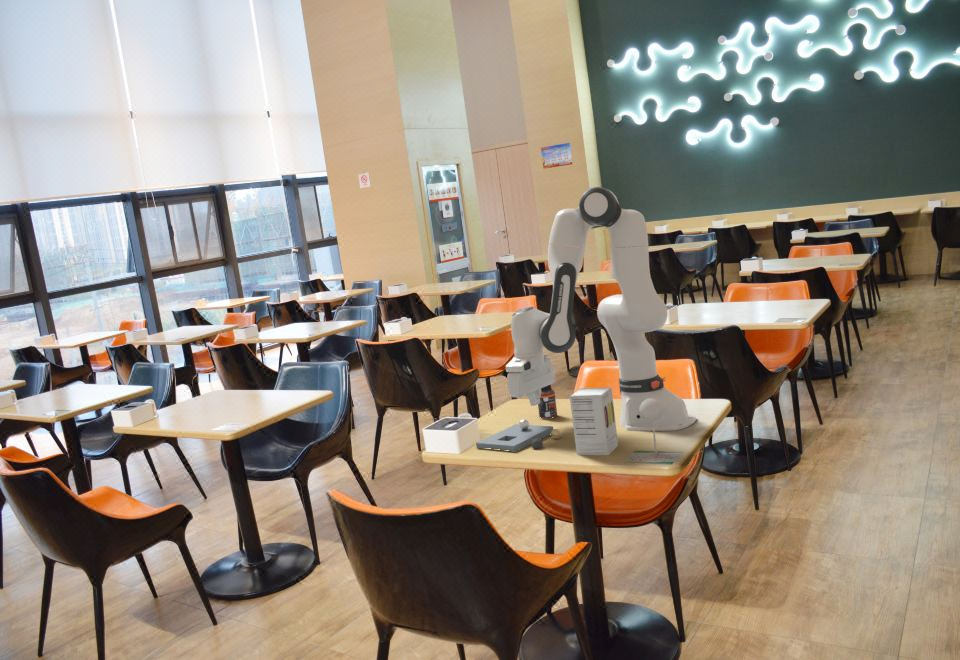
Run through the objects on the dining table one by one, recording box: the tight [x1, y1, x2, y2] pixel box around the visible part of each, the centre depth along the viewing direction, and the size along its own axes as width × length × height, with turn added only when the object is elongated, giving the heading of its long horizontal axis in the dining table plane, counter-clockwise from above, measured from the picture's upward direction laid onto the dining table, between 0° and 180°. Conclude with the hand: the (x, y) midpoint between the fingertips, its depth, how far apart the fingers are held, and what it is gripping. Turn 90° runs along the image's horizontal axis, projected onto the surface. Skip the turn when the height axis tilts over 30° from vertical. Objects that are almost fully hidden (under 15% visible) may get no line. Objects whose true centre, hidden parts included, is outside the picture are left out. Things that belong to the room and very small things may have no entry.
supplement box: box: [569, 386, 619, 456], centre depth 217 cm, size 10×9×17 cm
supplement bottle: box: [537, 384, 558, 419], centre depth 260 cm, size 6×6×11 cm
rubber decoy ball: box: [531, 439, 544, 450], centre depth 227 cm, size 3×3×3 cm
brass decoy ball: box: [550, 428, 563, 440], centre depth 234 cm, size 3×3×3 cm
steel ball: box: [518, 419, 530, 430], centre depth 240 cm, size 3×3×3 cm
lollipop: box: [639, 398, 663, 455], centre depth 207 cm, size 6×6×15 cm
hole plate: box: [475, 423, 554, 452], centre depth 237 cm, size 20×14×2 cm
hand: (535, 404), depth 245 cm, fingers closed
